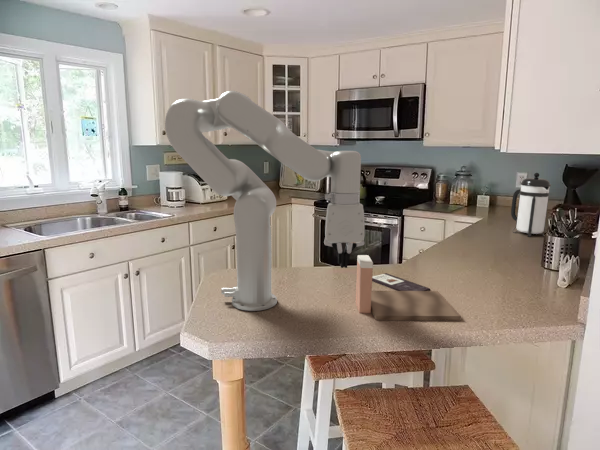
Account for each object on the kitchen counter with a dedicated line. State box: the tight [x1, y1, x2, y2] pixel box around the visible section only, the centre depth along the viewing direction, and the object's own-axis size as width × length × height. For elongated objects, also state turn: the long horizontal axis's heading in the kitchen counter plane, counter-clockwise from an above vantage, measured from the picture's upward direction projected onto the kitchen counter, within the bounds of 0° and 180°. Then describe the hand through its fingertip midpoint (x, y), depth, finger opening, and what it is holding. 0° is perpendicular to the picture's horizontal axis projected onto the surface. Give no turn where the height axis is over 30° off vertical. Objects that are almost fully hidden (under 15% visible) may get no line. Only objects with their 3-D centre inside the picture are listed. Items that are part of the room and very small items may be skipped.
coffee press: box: [510, 172, 552, 238], centre depth 208 cm, size 17×16×30 cm
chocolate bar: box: [372, 272, 431, 291], centre depth 137 cm, size 9×1×18 cm
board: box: [371, 290, 462, 321], centre depth 119 cm, size 22×18×1 cm
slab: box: [355, 254, 374, 314], centre depth 116 cm, size 3×7×14 cm, turn 1°
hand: (343, 266), depth 115 cm, fingers closed
